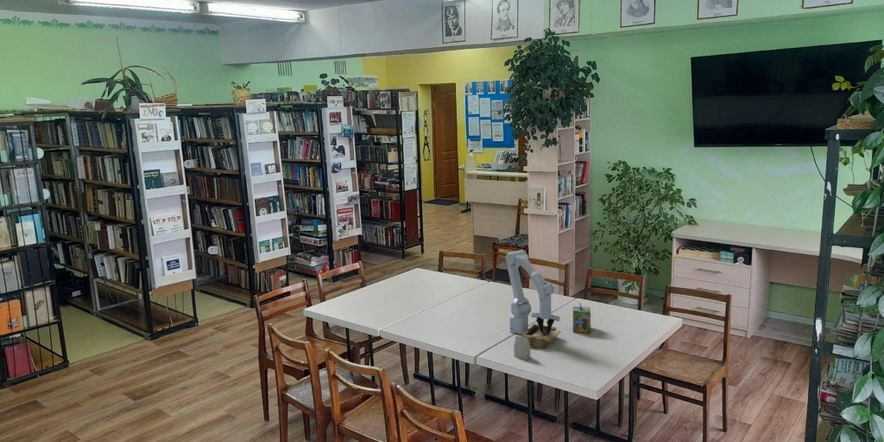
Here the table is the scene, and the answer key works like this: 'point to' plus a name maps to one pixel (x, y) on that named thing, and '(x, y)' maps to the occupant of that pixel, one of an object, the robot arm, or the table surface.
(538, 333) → the lid
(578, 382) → the table surface
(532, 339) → the box
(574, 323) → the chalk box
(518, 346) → the grey upright block
